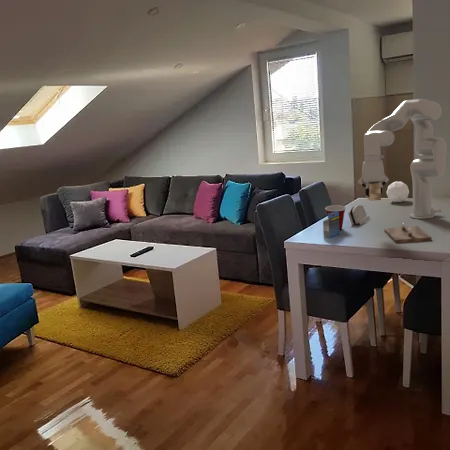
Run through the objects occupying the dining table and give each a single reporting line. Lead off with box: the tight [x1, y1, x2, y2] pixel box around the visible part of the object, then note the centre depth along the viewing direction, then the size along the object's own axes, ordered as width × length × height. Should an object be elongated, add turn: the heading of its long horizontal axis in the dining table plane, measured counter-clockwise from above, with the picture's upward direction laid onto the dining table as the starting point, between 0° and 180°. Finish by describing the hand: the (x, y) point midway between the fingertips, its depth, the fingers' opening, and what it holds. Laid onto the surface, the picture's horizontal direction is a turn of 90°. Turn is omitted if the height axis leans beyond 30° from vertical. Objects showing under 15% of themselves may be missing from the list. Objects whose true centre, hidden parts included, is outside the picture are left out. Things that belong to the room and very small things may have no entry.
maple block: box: [366, 182, 382, 202], centre depth 240 cm, size 5×8×8 cm, turn 174°
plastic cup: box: [324, 204, 347, 231], centre depth 260 cm, size 11×11×12 cm
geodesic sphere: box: [386, 180, 410, 203], centre depth 311 cm, size 14×14×14 cm
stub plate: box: [384, 222, 432, 244], centre depth 235 cm, size 16×22×5 cm
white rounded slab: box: [348, 204, 371, 226], centre depth 272 cm, size 17×5×10 cm, turn 146°
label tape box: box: [322, 211, 340, 239], centre depth 248 cm, size 9×4×12 cm, turn 133°
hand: (373, 195), depth 241 cm, fingers closed on maple block, 5 cm apart
